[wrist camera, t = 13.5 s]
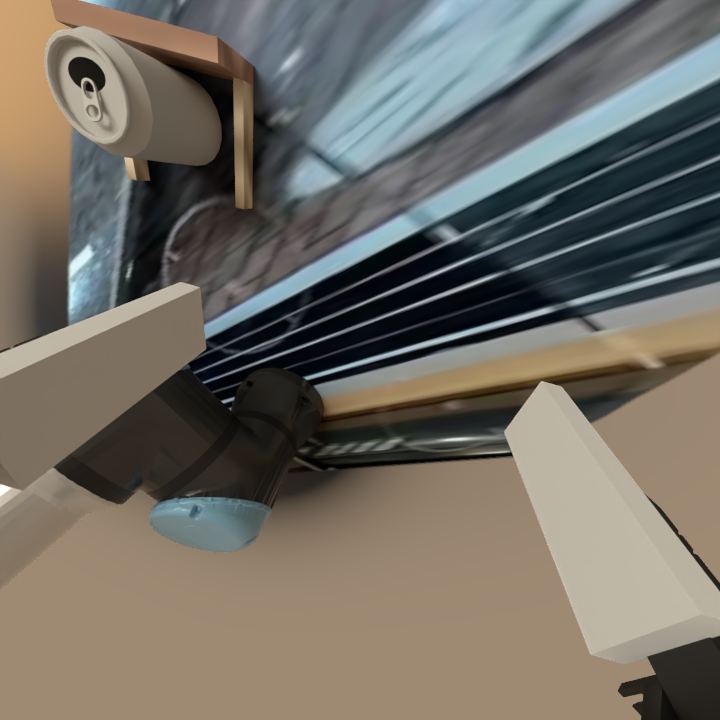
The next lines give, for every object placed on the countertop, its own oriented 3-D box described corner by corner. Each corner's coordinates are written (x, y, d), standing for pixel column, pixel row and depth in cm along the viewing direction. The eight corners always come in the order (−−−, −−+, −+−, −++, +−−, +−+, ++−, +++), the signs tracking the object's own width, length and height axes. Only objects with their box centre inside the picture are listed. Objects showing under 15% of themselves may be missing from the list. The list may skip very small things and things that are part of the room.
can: (219, 78, 28) (109, 13, 18) (232, 168, 32) (148, 158, 22) (150, 75, 28) (7, 11, 18) (172, 164, 32) (64, 151, 22)
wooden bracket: (252, 208, 34) (224, 211, 29) (142, 178, 34) (95, 176, 29) (253, 66, 27) (217, 36, 22) (116, 29, 27) (48, -8, 22)
